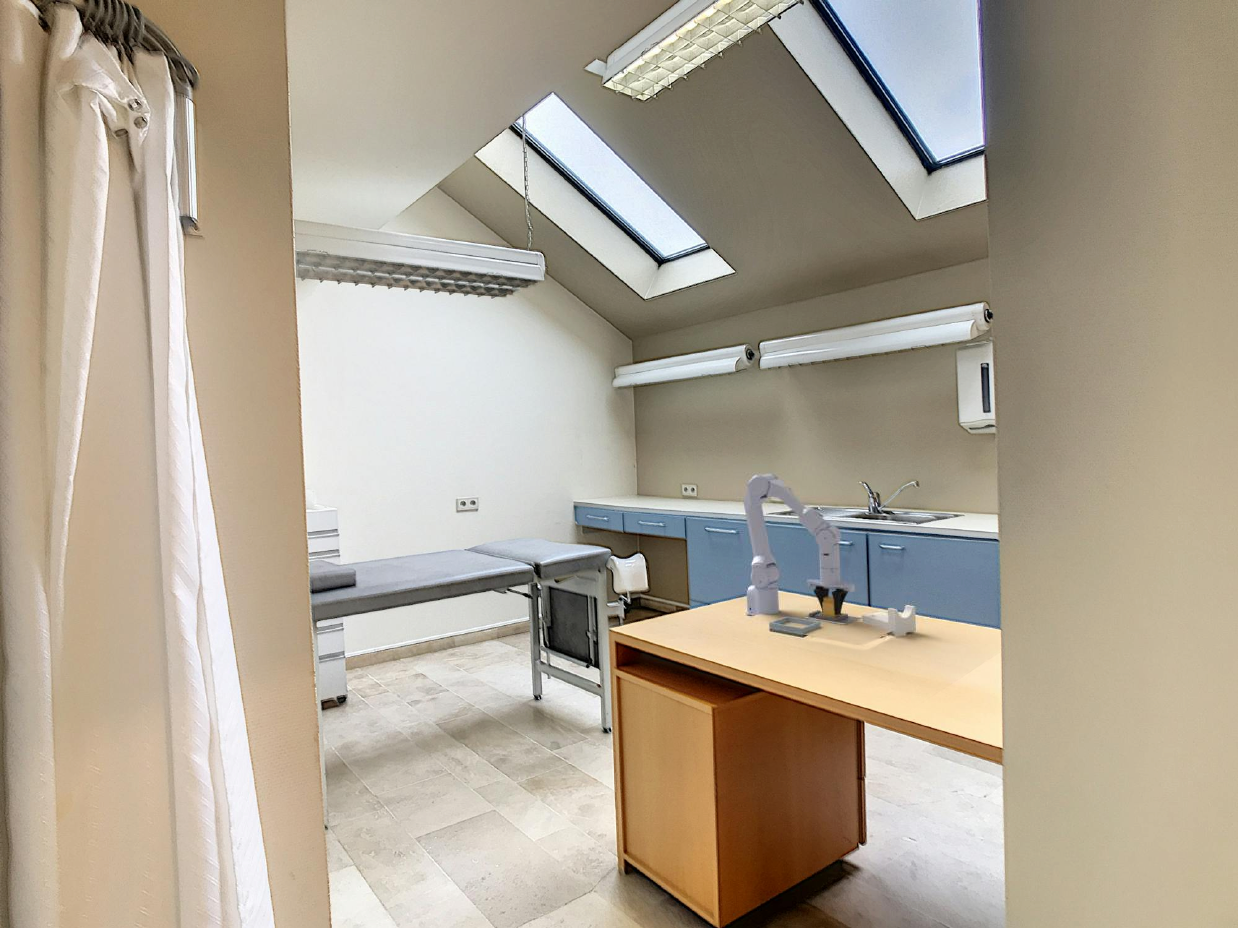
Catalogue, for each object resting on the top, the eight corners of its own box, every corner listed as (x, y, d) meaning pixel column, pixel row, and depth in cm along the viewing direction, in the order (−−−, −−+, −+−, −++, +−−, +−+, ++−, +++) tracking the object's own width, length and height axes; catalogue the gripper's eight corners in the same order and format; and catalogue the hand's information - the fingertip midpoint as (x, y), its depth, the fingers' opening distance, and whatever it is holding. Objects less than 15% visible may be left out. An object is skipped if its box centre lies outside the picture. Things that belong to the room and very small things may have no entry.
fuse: (823, 618, 210) (822, 598, 210) (829, 615, 212) (828, 595, 212) (834, 620, 207) (833, 599, 207) (840, 617, 210) (839, 597, 210)
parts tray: (769, 631, 203) (769, 622, 203) (787, 624, 209) (786, 616, 209) (803, 637, 195) (802, 628, 195) (820, 630, 201) (820, 622, 201)
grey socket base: (801, 621, 212) (801, 614, 212) (819, 615, 218) (819, 608, 218) (844, 629, 201) (844, 621, 201) (862, 622, 208) (862, 614, 208)
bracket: (916, 634, 194) (915, 606, 194) (895, 637, 192) (894, 610, 192) (881, 624, 206) (880, 598, 206) (862, 627, 204) (861, 601, 204)
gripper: (859, 567, 207) (861, 614, 207) (815, 563, 218) (817, 607, 218) (847, 571, 202) (848, 618, 203) (802, 566, 213) (804, 611, 213)
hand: (831, 613), depth 210 cm, fingers closed on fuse, 4 cm apart
